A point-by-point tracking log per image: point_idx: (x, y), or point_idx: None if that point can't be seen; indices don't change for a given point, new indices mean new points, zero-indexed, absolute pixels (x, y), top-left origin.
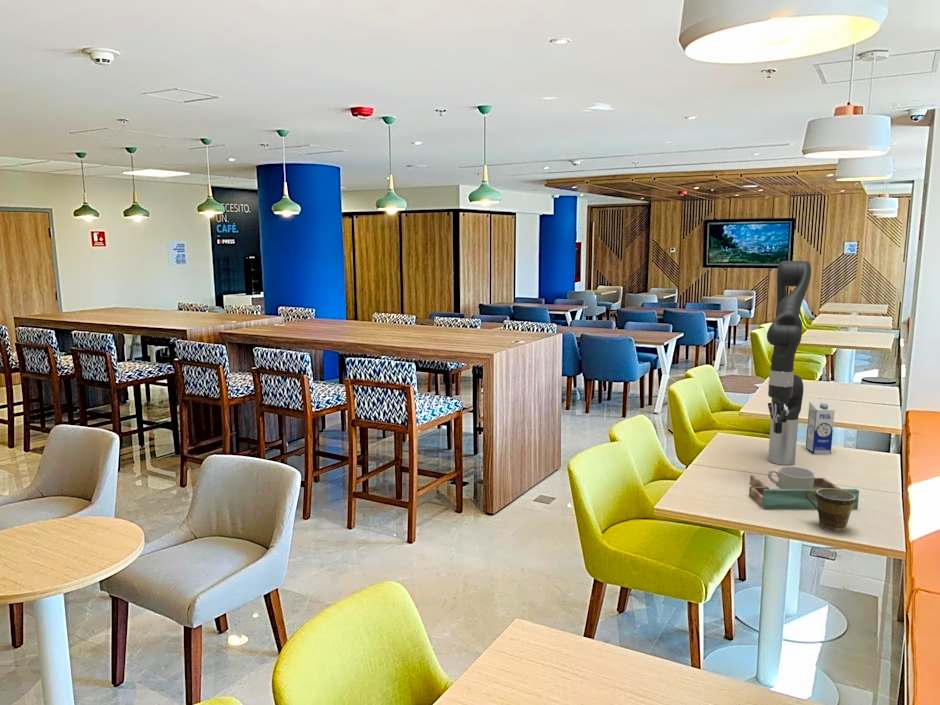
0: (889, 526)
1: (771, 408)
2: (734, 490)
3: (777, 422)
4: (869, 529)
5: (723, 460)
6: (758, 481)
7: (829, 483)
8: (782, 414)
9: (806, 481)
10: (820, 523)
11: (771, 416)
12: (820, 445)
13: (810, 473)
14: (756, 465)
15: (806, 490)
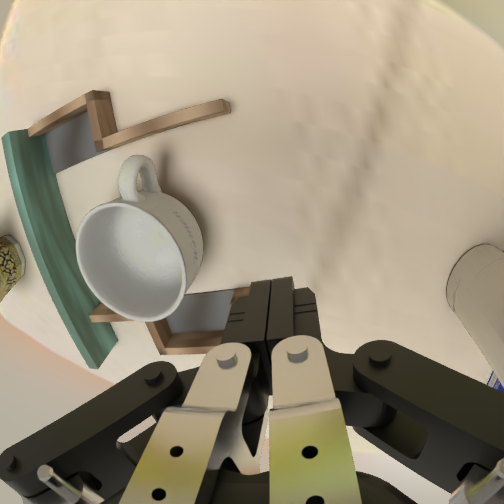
0: (59, 348)
1: (475, 449)
2: (147, 49)
3: (212, 359)
4: (32, 312)
5: (481, 89)
6: (151, 121)
7: (202, 346)
8: (34, 441)
9: (92, 274)
10: (3, 236)
11: (374, 361)
12: (501, 387)
13: (154, 311)
14: (449, 187)
15: (31, 248)
